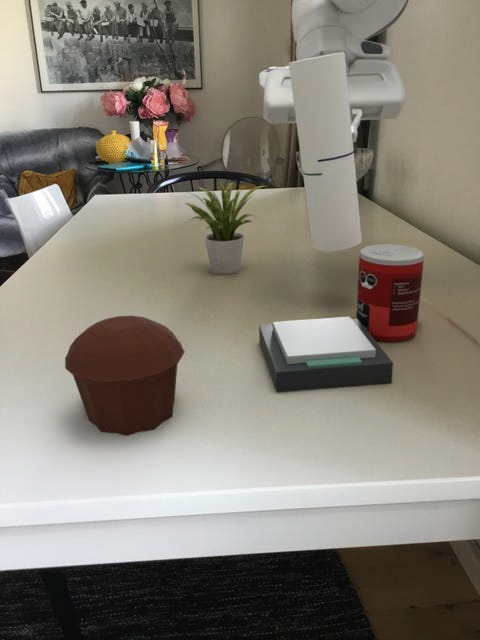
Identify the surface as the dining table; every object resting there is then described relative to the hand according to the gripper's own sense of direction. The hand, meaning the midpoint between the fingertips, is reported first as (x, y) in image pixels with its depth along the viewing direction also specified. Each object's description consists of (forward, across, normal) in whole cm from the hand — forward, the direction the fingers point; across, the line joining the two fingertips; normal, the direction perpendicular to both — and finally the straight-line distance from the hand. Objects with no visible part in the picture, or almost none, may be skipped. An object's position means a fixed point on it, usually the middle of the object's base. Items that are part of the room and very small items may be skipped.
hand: (338, 140), depth 79 cm
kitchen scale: (+31, -6, +2) cm, 32 cm away
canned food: (+26, +4, +8) cm, 27 cm away
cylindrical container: (+11, 0, +9) cm, 15 cm away
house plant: (+4, -16, +30) cm, 34 cm away
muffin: (+38, -27, -5) cm, 47 cm away
